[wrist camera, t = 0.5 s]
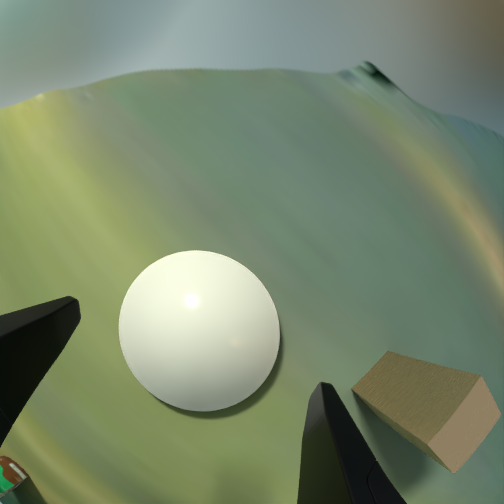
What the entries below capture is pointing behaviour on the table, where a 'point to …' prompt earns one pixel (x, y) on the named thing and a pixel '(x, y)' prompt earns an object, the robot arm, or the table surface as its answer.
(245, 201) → the table surface
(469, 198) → the table surface
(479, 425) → the tan tall block
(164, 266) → the cream plate
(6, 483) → the food container
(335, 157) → the table surface
